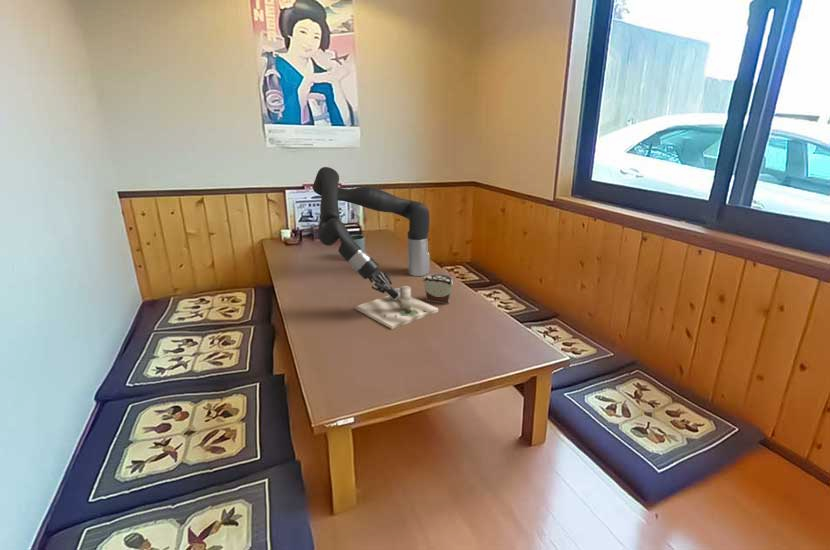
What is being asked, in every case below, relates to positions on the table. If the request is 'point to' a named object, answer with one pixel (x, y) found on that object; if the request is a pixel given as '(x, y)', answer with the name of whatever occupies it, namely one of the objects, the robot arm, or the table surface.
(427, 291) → the food container
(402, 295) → the peg dial
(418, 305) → the dial plate
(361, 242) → the grey cup
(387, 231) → the table surface
